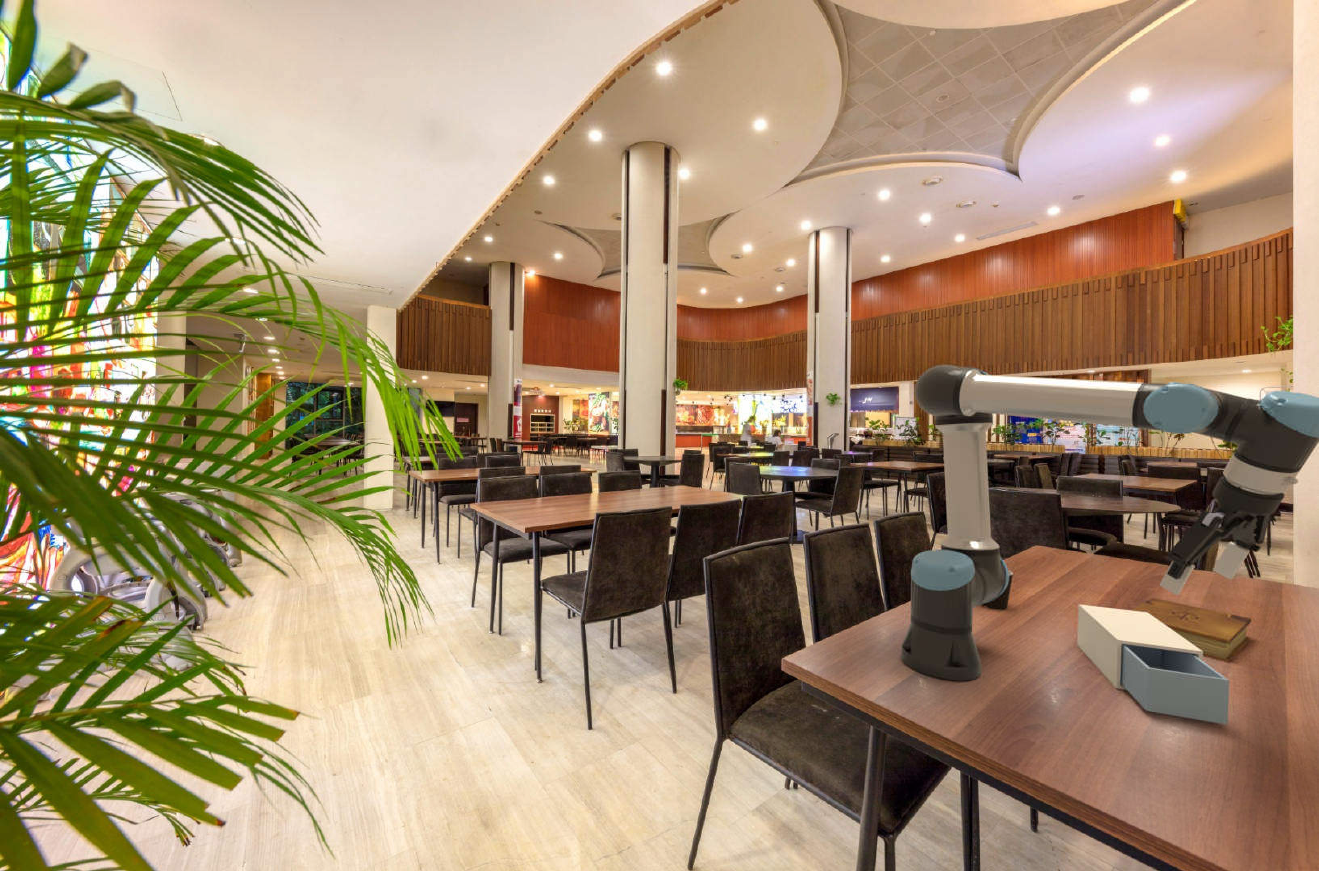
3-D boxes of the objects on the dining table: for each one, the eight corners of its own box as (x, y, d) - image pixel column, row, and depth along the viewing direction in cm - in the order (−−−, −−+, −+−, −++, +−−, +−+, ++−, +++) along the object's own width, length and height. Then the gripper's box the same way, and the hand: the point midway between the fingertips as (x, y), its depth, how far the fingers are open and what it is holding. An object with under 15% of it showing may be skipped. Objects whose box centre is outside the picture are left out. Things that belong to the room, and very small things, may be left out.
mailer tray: (1227, 724, 89) (1229, 680, 89) (1146, 710, 93) (1147, 668, 93) (1163, 668, 109) (1164, 632, 109) (1098, 659, 113) (1099, 624, 113)
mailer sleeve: (1201, 702, 98) (1203, 651, 98) (1116, 688, 103) (1117, 639, 103) (1146, 654, 118) (1147, 612, 118) (1077, 644, 123) (1078, 604, 123)
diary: (1147, 617, 143) (1148, 596, 143) (1249, 642, 127) (1250, 618, 127) (1118, 635, 130) (1119, 612, 130) (1228, 664, 115) (1229, 638, 115)
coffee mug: (1010, 613, 143) (1011, 577, 143) (974, 606, 148) (975, 571, 148) (1013, 602, 152) (1014, 568, 152) (979, 596, 158) (979, 563, 157)
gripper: (1227, 509, 81) (1169, 611, 90) (1334, 483, 87) (1268, 581, 96) (1172, 484, 87) (1123, 582, 97) (1275, 461, 93) (1220, 555, 103)
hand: (1196, 581), depth 96 cm, fingers open, 13 cm apart
